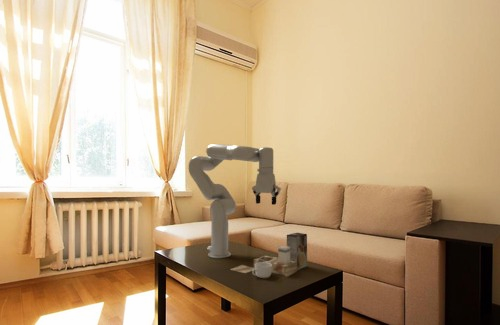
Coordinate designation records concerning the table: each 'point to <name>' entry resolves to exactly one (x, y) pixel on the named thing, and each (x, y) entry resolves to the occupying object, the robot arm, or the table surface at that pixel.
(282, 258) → the plug
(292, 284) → the table surface
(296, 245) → the coffee box
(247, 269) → the mat
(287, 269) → the socket board
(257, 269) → the teacup
